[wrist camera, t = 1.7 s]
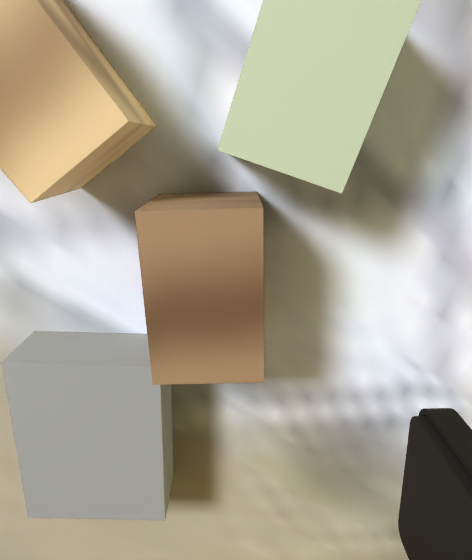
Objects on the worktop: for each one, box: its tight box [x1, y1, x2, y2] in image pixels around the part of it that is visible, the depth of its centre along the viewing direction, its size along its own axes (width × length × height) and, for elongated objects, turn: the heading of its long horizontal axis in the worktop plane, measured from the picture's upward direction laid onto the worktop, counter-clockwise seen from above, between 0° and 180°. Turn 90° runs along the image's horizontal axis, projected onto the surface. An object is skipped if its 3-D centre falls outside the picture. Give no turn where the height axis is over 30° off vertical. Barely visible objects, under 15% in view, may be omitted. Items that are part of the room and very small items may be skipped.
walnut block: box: [135, 192, 264, 385], centre depth 18 cm, size 7×4×5 cm, turn 2°
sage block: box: [218, 0, 421, 193], centre depth 15 cm, size 7×4×5 cm, turn 162°
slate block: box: [1, 331, 174, 520], centre depth 21 cm, size 9×7×4 cm
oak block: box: [0, 0, 156, 203], centre depth 15 cm, size 7×4×5 cm, turn 36°
